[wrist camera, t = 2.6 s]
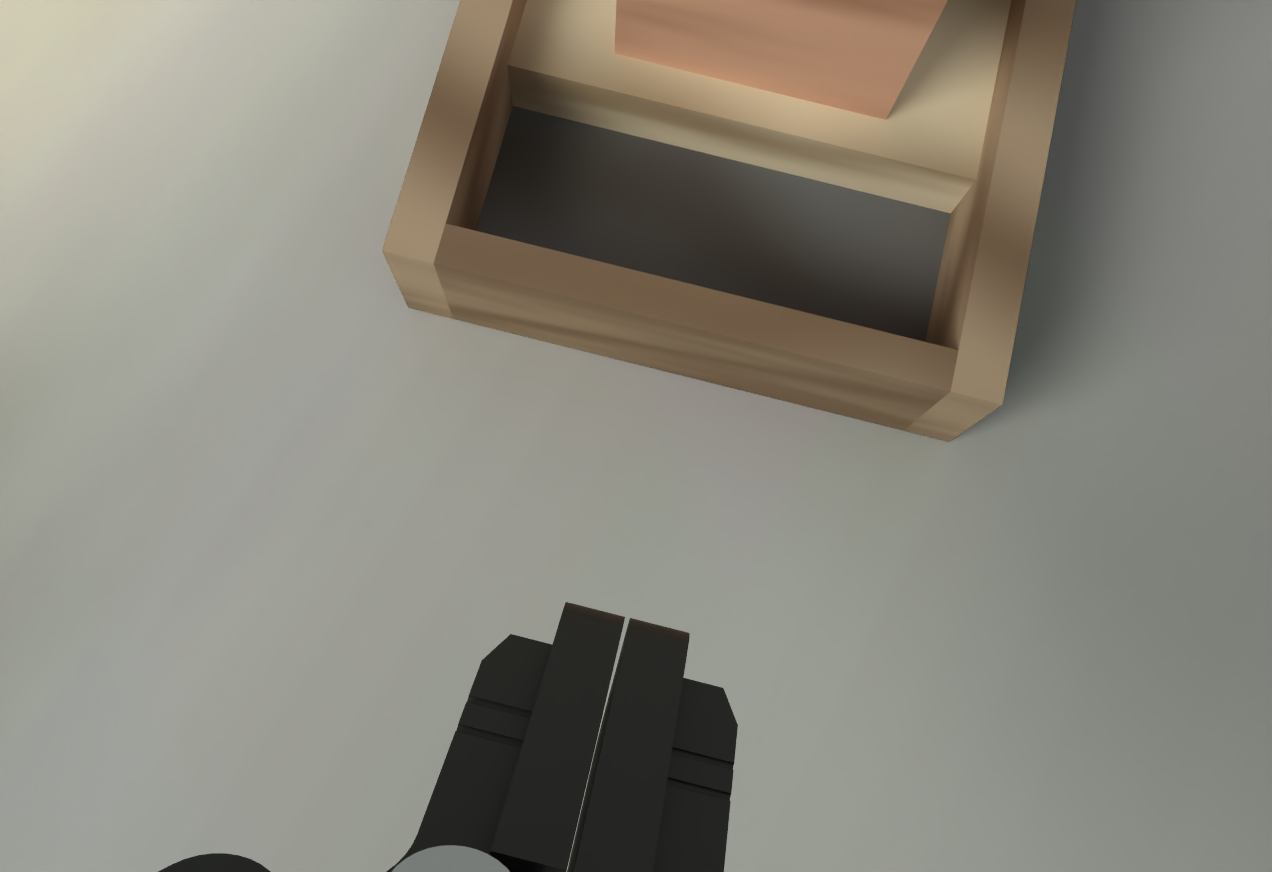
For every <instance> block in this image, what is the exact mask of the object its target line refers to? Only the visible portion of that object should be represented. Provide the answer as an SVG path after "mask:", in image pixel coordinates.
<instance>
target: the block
mask: <svg viewBox="0 0 1272 872" xmlns="http://www.w3.org/2000/svg"><path fill="white" fill-rule="evenodd" d="M947 1H948V0H617V2H616V25H615V49H614V54H618V55H623V56H627V57H631V58H635V59H639V60H643V61H647V62H651V63H655V64H659V65H663V66H667V67H672V68H676V69H680V70H684V71H688V72H692V73H696V74H700V75H704V76H708V77H712V78H716V79H721V80H725V81H729V82H733V83H737V84H741V85H745V86H749V87H753V88H757V89H761V90H765V91H770V92H774V93H778V94H782V95H786V96H790V97H794V98H798V99H802V100H806V101H810V102H814V103H819V104H823V105H827V106H831V107H835V108H839V109H843V110H847V111H851V112H855V113H859V114H863V115H868V116H872V117H876V118H880V119H884V120H886V119H887V117H888V115H889V113H890V111H891V109H892V107H893V105H894V103H895V101H896V99H897V97H898V95H899V93H900V92H901V90H902V88H903V86H904V84H905V82H906V80H907V78H908V76H909V74H910V72H911V70H912V68H913V66H914V65H915V63H916V61H917V59H918V57H919V55H920V53H921V51H922V49H923V47H924V45H925V43H926V41H927V39H928V38H929V36H930V34H931V32H932V30H933V28H934V26H935V24H936V22H937V20H938V18H939V16H940V14H941V13H942V11H943V9H944V7H945V5H946V3H947Z"/></svg>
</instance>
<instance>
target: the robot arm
mask: <svg viewBox="0 0 1272 872" xmlns="http://www.w3.org/2000/svg"><path fill="white" fill-rule="evenodd" d="M624 619H625V617H623V616H619V615H615V614H611V613H607V612H603V611H599V610H595V609H591V608H587V607H584V606H580V605H576V604H572V603H568V602H566V603H565V606H564V609H563V612H562V616H561V619H560V622H559V625H558V629H557V632H556V635H555V639H554V642H553V645H551V644H547V643H543V642H539V641H536V640H532V639H528V638H524V637H520V636H516V635H512V634H510V635H509V636H508V637H507V638H506V639H505V640H504V641H503V642H502V643H501V644H499V645H498V646H497V647H496V648H495V649H494V650H493V651H492V652H491V653H490V654H488V655H487V656H486V657H485V658H484V659H483V660H482V662H481V664H480V667H479V670H478V672H477V675H476V678H475V680H474V683H473V686H472V689H471V691H470V694H469V698H468V701H467V702H466V705H465V707H464V710H463V713H462V715H461V718H460V721H459V724H458V728H457V731H456V732H455V734H454V737H453V740H452V742H451V745H450V748H449V751H448V753H447V756H446V759H445V761H444V764H443V767H442V769H441V772H440V775H439V777H438V780H437V783H436V786H435V788H434V791H433V794H432V796H431V799H430V802H429V804H428V807H427V810H426V812H425V815H424V818H423V821H422V823H421V826H420V829H419V831H418V834H417V836H416V838H415V840H414V843H413V845H412V846H411V848H410V849H409V850H408V852H407V853H406V855H405V856H404V857H403V858H402V859H401V860H400V861H399V862H398V863H397V864H396V865H395V866H393V867H392V868H391V869H389V870H388V871H387V872H566V870H567V866H568V862H569V857H570V853H571V849H572V844H573V840H574V836H575V831H576V827H577V823H578V818H579V814H580V810H581V805H582V801H583V797H584V801H583V805H582V810H581V814H580V818H579V823H578V827H577V831H576V836H575V840H574V844H573V849H572V853H571V857H570V862H569V866H568V870H567V872H724V863H725V852H726V842H727V831H728V821H729V810H730V795H731V790H732V779H733V765H734V758H735V748H736V737H737V727H738V725H737V722H736V720H735V717H734V715H733V712H732V709H731V707H730V704H729V702H728V699H727V697H726V694H725V691H724V689H723V688H721V687H717V686H713V685H709V684H705V683H701V682H698V681H694V680H690V679H686V678H683V676H684V669H685V663H686V657H687V650H688V644H689V633H687V632H683V631H679V630H675V629H671V628H667V627H663V626H659V625H655V624H651V623H648V622H644V621H640V620H636V619H632V618H630V620H629V624H628V627H627V631H626V634H625V638H624V642H623V646H622V649H621V653H620V657H619V661H618V664H617V668H616V672H615V676H614V679H613V683H612V687H611V691H610V694H609V698H608V702H607V705H606V709H605V713H604V717H603V721H602V725H601V729H600V733H599V737H598V741H597V745H596V740H597V736H598V732H599V727H600V723H601V719H602V715H603V710H604V706H605V702H606V697H607V693H608V689H609V684H610V680H611V676H612V671H613V667H614V663H615V658H616V654H617V650H618V645H619V641H620V637H621V632H622V628H623V624H624ZM595 745H596V749H595ZM594 749H595V753H594ZM593 753H594V757H593ZM592 758H593V762H592ZM591 762H592V766H591ZM590 766H591V770H590ZM589 771H590V775H589ZM588 775H589V779H588ZM587 779H588V783H587ZM586 784H587V788H586ZM585 788H586V792H585ZM584 792H585V796H584ZM159 872H270V871H269V870H268V869H266V868H265V867H264V866H262V865H261V864H259V863H257V862H255V861H253V860H251V859H248V858H245V857H242V856H238V855H232V854H205V855H198V856H195V857H191V858H187V859H184V860H182V861H179V862H177V863H175V864H172V865H170V866H168V867H166V868H164V869H163V870H161V871H159Z"/></svg>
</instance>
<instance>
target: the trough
mask: <svg viewBox="0 0 1272 872" xmlns="http://www.w3.org/2000/svg"><path fill="white" fill-rule="evenodd" d="M616 2H617V0H460V3H459V6H458V10H457V13H456V16H455V19H454V22H453V26H452V29H451V32H450V35H449V38H448V42H447V45H446V48H445V51H444V54H443V58H442V61H441V64H440V67H439V70H438V74H437V77H436V80H435V83H434V86H433V90H432V93H431V96H430V99H429V102H428V105H427V109H426V112H425V115H424V118H423V121H422V125H421V128H420V131H419V134H418V137H417V141H416V144H415V147H414V150H413V153H412V157H411V160H410V163H409V166H408V169H407V173H406V176H405V179H404V182H403V185H402V189H401V192H400V195H399V198H398V201H397V205H396V208H395V211H394V214H393V217H392V221H391V224H390V227H389V230H388V233H387V237H386V240H385V243H384V246H383V249H382V252H383V254H384V256H385V258H386V260H387V263H388V265H389V267H390V269H391V271H392V273H393V276H394V278H395V280H396V282H397V284H398V286H399V289H400V291H401V293H402V295H403V297H404V299H405V301H406V304H407V306H408V307H409V308H413V309H417V310H421V311H425V312H429V313H433V314H437V315H441V316H445V317H449V318H453V319H457V320H461V321H465V322H469V323H473V324H477V325H481V326H485V327H489V328H493V329H497V330H501V331H505V332H509V333H513V334H517V335H521V336H525V337H529V338H533V339H537V340H541V341H546V342H550V343H554V344H558V345H562V346H566V347H570V348H574V349H578V350H582V351H586V352H590V353H594V354H598V355H602V356H606V357H610V358H614V359H618V360H622V361H626V362H630V363H634V364H638V365H642V366H646V367H650V368H654V369H658V370H662V371H666V372H670V373H674V374H678V375H682V376H686V377H690V378H695V379H699V380H703V381H707V382H711V383H715V384H719V385H723V386H727V387H731V388H735V389H739V390H743V391H747V392H751V393H755V394H759V395H763V396H767V397H771V398H775V399H779V400H783V401H787V402H791V403H795V404H799V405H803V406H807V407H811V408H815V409H819V410H823V411H827V412H831V413H835V414H839V415H844V416H848V417H852V418H856V419H860V420H864V421H868V422H872V423H876V424H880V425H884V426H888V427H892V428H896V429H900V430H904V431H908V432H912V433H916V434H920V435H924V436H928V437H932V438H936V439H940V440H944V441H948V442H950V441H951V440H953V439H954V438H955V437H957V436H958V435H960V434H961V433H963V432H964V431H966V430H967V429H968V428H970V427H971V426H973V425H974V424H976V423H977V422H978V421H980V420H981V419H983V418H984V417H986V416H987V415H988V414H990V413H991V412H993V411H994V410H996V409H997V408H998V407H1000V406H1001V405H1003V400H1004V394H1005V389H1006V383H1007V378H1008V372H1009V367H1010V361H1011V356H1012V350H1013V345H1014V339H1015V334H1016V328H1017V323H1018V317H1019V312H1020V306H1021V301H1022V295H1023V290H1024V285H1025V279H1026V274H1027V268H1028V263H1029V257H1030V252H1031V246H1032V241H1033V235H1034V230H1035V224H1036V219H1037V213H1038V208H1039V202H1040V197H1041V191H1042V186H1043V180H1044V175H1045V169H1046V164H1047V158H1048V153H1049V147H1050V142H1051V136H1052V131H1053V125H1054V120H1055V114H1056V109H1057V103H1058V98H1059V92H1060V87H1061V81H1062V76H1063V70H1064V65H1065V59H1066V54H1067V48H1068V43H1069V37H1070V32H1071V26H1072V21H1073V15H1074V10H1075V4H1076V0H948V1H947V3H946V5H945V7H944V9H943V11H942V13H941V14H940V16H939V18H938V20H937V22H936V24H935V26H934V28H933V30H932V32H931V34H930V36H929V38H928V39H927V41H926V43H925V45H924V47H923V49H922V51H921V53H920V55H919V57H918V59H917V61H916V63H915V65H914V66H913V68H912V70H911V72H910V74H909V76H908V78H907V80H906V82H905V84H904V86H903V88H902V90H901V92H900V93H899V95H898V97H897V99H896V101H895V103H894V105H893V107H892V109H891V111H890V113H889V115H888V117H887V119H886V120H884V119H880V118H876V117H872V116H868V115H863V114H859V113H855V112H851V111H847V110H843V109H839V108H835V107H831V106H827V105H823V104H819V103H814V102H810V101H806V100H802V99H798V98H794V97H790V96H786V95H782V94H778V93H774V92H770V91H765V90H761V89H757V88H753V87H749V86H745V85H741V84H737V83H733V82H729V81H725V80H721V79H716V78H712V77H708V76H704V75H700V74H696V73H692V72H688V71H684V70H680V69H676V68H672V67H667V66H663V65H659V64H655V63H651V62H647V61H643V60H639V59H635V58H631V57H627V56H623V55H618V54H614V49H615V25H616Z"/></svg>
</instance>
